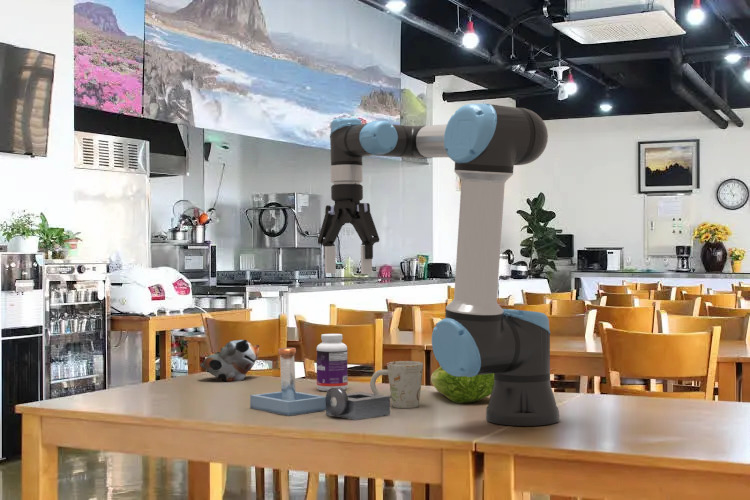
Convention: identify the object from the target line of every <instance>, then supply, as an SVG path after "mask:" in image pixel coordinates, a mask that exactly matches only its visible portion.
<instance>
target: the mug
mask: <svg viewBox="0 0 750 500" xmlns="http://www.w3.org/2000/svg"><path fill="white" fill-rule="evenodd" d="M386 368H387V369H378V370H376V371H375V372H374V373H373V374H372V376H371V378H370V382H369V384H370V385H369V386H370V389H371V391H372V394H378V395H384V396H390V399H391V405H392V407H393V408H396V409H414V408H418V407H419V406H420V400H421V399H420V398H421V389H422V382H423V372H424V362H422V361H415V360H414V361H413V360H398V361H390V362H387V363H386ZM380 376H388V381H389V382H388V383H389V390H390V394H382V393H381V392H380V391H379V390H378V388H377V386H376V382H377V379H378V378H379V377H380Z"/></svg>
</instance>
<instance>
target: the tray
mask: <svg viewBox="0 0 750 500" xmlns="http://www.w3.org/2000/svg"><path fill="white" fill-rule="evenodd" d="M249 397H250V398H249V399H250V404H249V405H250V407H249V408H250V409H253V410H257V411H262V412H267V413H272V414H276V415H283V416H286V417H287V416H288V417H290V416H291V417H292V416H296V415H303V414H304V415H305V414H310V413H317V412H325V411H324V410H326V395H325V396H324V395H320V394H319V395H318V394H314V393H313V394H312V393H307V392H302V391H301V392H300V391H296V400H293V401H286V400H282V393H281V391H275V392H267V393H258V394H250V396H249Z"/></svg>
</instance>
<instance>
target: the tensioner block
mask: <svg viewBox="0 0 750 500" xmlns="http://www.w3.org/2000/svg"><path fill="white" fill-rule="evenodd" d="M384 395H385V394H382V395H378V394H374V393H372V392H364V391H358V392H349V393H347V392H346V389H345V390H344V389H342V388H341V387H336V388H331V389H329V390H328V391H326V394H325V397H326V411H325V415H326V416H331V417H336V418H341V417H342V418H341V419H346V418H347V419H346V420H351V419H352V420H353V421H357V420H358V419H359V420H364V418H365V419H371V418H370V417H372V418H377V416H378V417H384V415H385V416H390V415H391V398H390V396H384ZM352 420H351V421H352Z"/></svg>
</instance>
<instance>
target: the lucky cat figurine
mask: <svg viewBox="0 0 750 500" xmlns="http://www.w3.org/2000/svg"><path fill="white" fill-rule="evenodd" d="M259 355H260V344H255V345H252V343H251V342H249V340H247V339H237V340H232V341H231V340H230V341H229V342H227V343H226V344H225V345H224V346H222V347H221V348H220V351H218V352H215V353H214V354H213V353H212V354H210V355H208V356H206V357H205V358H204V360H203V361H202V362H201V363H200V364H199V366H200V367H201V368H203V369H204V370H206V371H207V372H209V374H210V375H212V376H214V377H215V378H218V379H222V380H223V381H224V382H226V383H231V382H241V381H244V379H245V378H246V376H247V373H248V372H249V371H251V369H252V368H253V366H254V365H255V363H256V360H258V358H259Z"/></svg>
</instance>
